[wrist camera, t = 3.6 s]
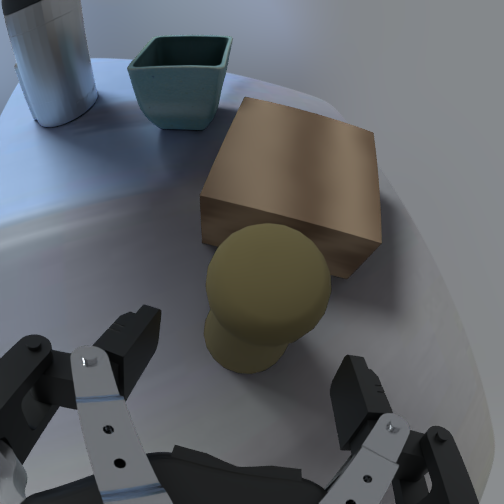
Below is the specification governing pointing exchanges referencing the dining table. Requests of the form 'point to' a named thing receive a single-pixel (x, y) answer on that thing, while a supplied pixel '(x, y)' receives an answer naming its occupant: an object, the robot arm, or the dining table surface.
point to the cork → (263, 295)
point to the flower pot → (180, 79)
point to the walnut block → (296, 182)
